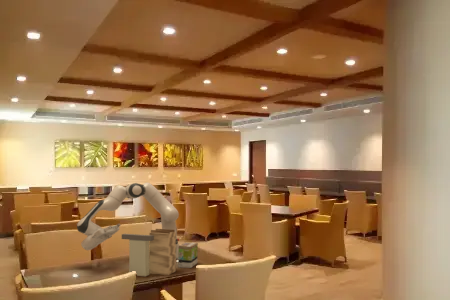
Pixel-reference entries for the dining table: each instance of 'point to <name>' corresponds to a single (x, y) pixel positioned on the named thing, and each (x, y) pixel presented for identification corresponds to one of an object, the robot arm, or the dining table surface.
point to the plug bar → (138, 237)
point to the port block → (139, 257)
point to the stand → (162, 252)
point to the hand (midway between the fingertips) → (115, 225)
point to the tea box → (188, 255)
